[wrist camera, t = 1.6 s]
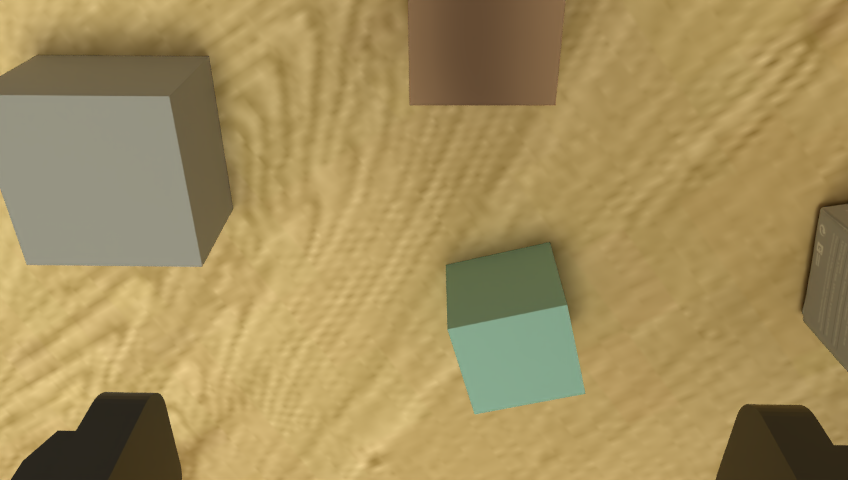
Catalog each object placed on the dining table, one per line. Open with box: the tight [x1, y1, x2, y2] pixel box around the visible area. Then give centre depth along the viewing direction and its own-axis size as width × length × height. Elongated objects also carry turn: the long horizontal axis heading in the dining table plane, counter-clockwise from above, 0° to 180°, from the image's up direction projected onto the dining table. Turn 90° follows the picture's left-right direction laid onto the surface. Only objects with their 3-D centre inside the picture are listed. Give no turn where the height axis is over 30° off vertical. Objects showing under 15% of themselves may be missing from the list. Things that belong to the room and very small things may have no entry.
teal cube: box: [446, 242, 585, 414], centre depth 32 cm, size 5×5×5 cm
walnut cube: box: [408, 0, 566, 105], centre depth 25 cm, size 5×5×5 cm
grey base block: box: [0, 55, 233, 267], centre depth 28 cm, size 7×7×5 cm
